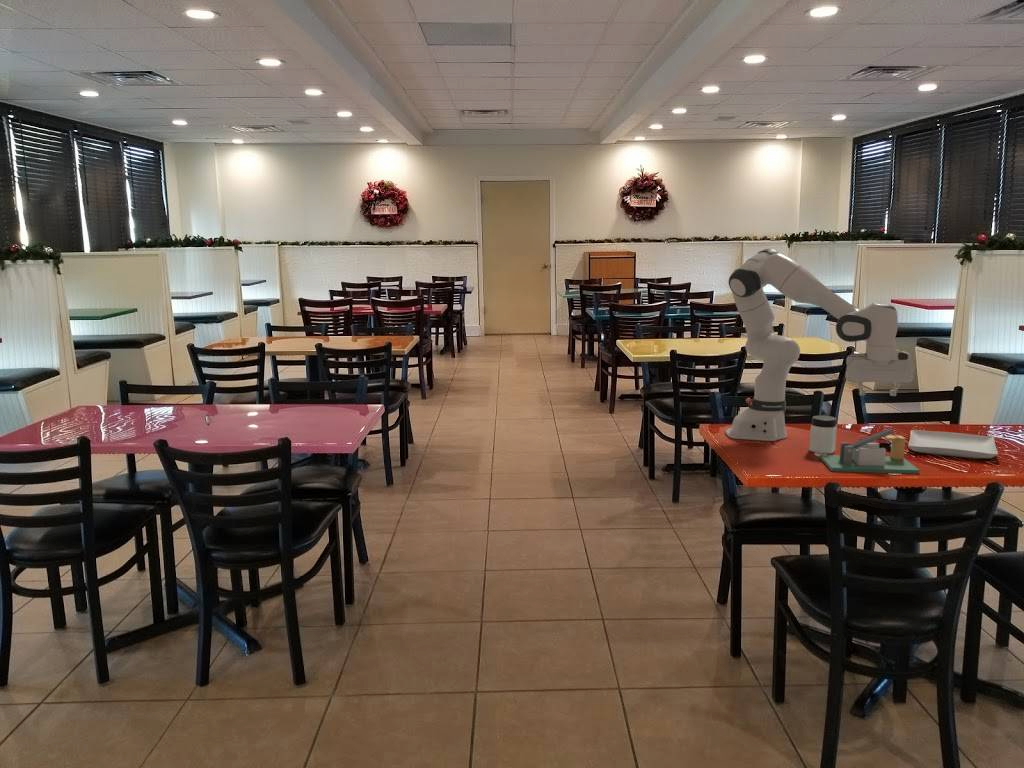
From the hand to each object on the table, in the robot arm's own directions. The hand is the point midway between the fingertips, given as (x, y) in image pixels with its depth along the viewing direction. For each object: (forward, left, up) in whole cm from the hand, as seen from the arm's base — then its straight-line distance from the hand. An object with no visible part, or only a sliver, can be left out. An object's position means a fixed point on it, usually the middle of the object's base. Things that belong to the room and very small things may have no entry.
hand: (877, 395), depth 260 cm
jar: (-12, +18, -24) cm, 32 cm away
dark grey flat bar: (-2, 0, -15) cm, 16 cm away
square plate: (+34, +25, -24) cm, 49 cm away
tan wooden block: (+8, +6, -22) cm, 25 cm away
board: (-2, 0, -24) cm, 24 cm away
